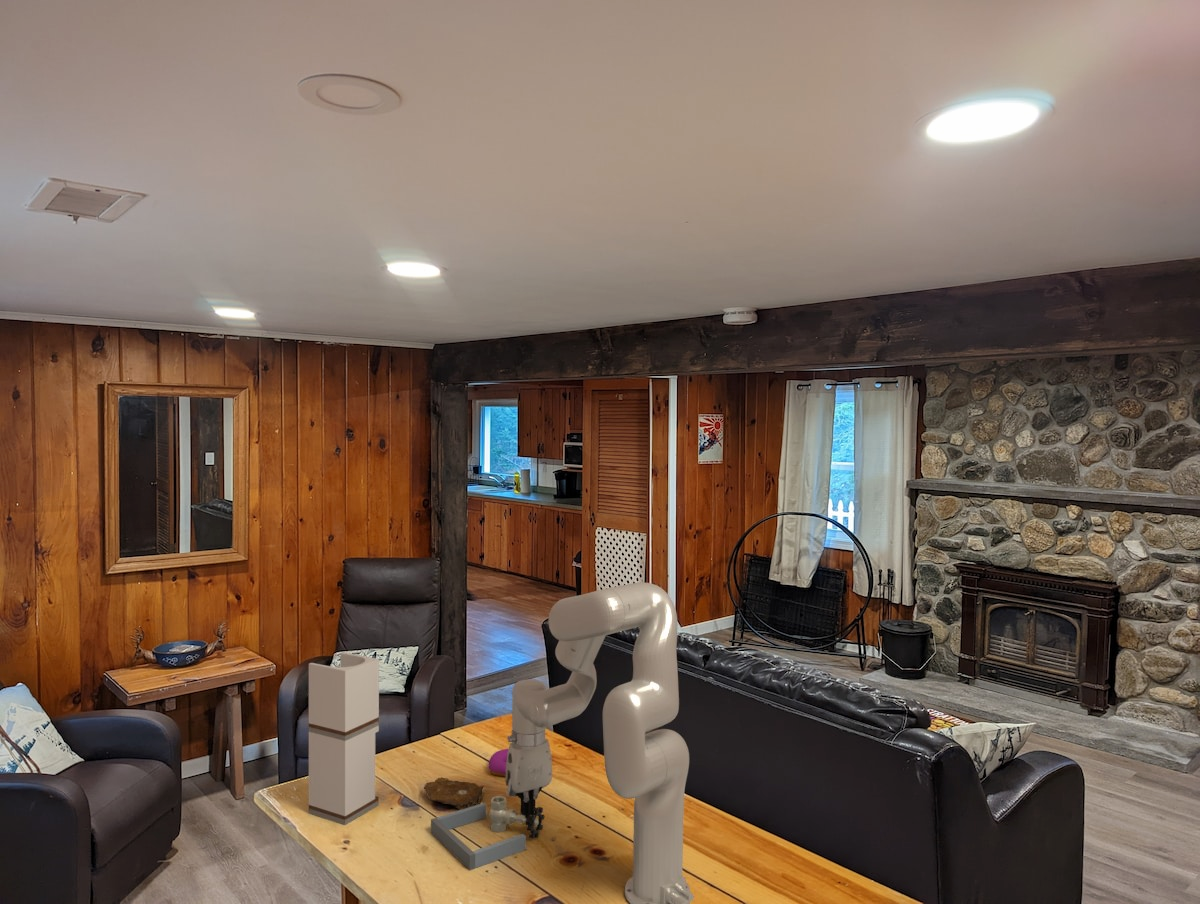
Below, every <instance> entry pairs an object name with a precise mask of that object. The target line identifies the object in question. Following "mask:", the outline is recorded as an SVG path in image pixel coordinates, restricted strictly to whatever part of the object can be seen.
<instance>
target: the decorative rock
mask: <svg viewBox="0 0 1200 904" xmlns="http://www.w3.org/2000/svg"><path fill="white" fill-rule="evenodd" d="M484 788H485V787H484V785H478V784H477V783H476V782H475V783H474V782H468V781H467V782H466V781H459V780H450V779H449V778H447V777H437V778H436V779H435V780H434V781H430V782H427V783H426V784H424V787H423V789H424V791H425V792H426V795H427V798H428V799H429V801H433V802H440V803H441V804H445V805H452V806H454V807H455V808H456V809H457V810H458V811H459V810H462V809H465V808H469V807H472V806H475V805H478V804H480V798H481V797H482V796H483V794H484V792H483V789H484Z"/></svg>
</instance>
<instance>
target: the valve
mask: <svg viewBox="0 0 1200 904" xmlns="http://www.w3.org/2000/svg"><path fill="white" fill-rule="evenodd" d="M533 811H535V813H533V814H532V815H529V816H528V817H527V818H525V816H524V815H522V814H518V813H517V811H516V810H515V809H512V808H509V809H508V807H507V797H506V796H503V795H495V796H493V797H491V801H490V809H489V812H488V813H489V814H488V816H489V820H490V831H491V832H495V833H502V832H505V831H506V830H507V824H508V825H513V824H514V823H518V824H524V823H525V825H526V831H527V832H530V833H529V834H528V838H529V839H538V838H539V836H540V833H539V831H542V830H543V828H544V824H542V823H543V821H544V820H545V814H543V812H544V808H543V807H541V806H538V807H536V806H535V807H534V808H533ZM535 827H536V828H535Z"/></svg>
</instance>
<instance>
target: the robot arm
mask: <svg viewBox="0 0 1200 904" xmlns="http://www.w3.org/2000/svg"><path fill="white" fill-rule="evenodd" d="M548 628H549V631H550V633H551V635H552V636H553V637H554V638H555V639H556V640H558V643H557V645H556V647H555V649H554V650H555V651H554V653H555V657H556V660H557V661H558V663H559V664H560V665H562V666H563V667H564V668H565V669H567V670H569V671H570V672H571V674H570V676H569V678H568V680H567V681H566V683H564V684H559V685H557V686H553V687H549V688H547V689H546V685H545V683H544V682H542V681H541V680H538V679H531V678H528V679H522V680H519V681H516V682H515V684H513V686H512V698H511V699H512V700H511V701H512V704H511V705H512V706H511V708H512V709H511V711H512V712H511V715H512V716H511V720H512V721H511V734H510V735H508V736H507V738H506V739H507V742H508V743H509V744H508V745H509V746H508V748H507V749H508V755H507V762H506V776H505V784H506V786H507V788H506V793H505V794H506V796H508V797H509V798H510V797H511V798H513V797H517V798H519V799H520V815H524V816H525V818H527V817H528V816H529V815H532V814H533V813H535V811H533V808H534V807H536V800H537V799H538V798H539V794H540V792H541V791H542V789H544V788H546V787H547V786H549V785H550V784H551V782H552V781H553V763H552V762H553V761H552V753H551V748H550V742H549V739H548V738H546V728H549V727H550V726H554V725H558V724H559V723H561V722H564V721H568V720H571V719H574V718H576V717H578V716H580V715H581V714H582V713H583V712H584V711H585V710H586V709H587V707H588V705H589V704H590V701H591V700H592V698H593V696H594V693H595V691H596V689H597V682H598V681H597V670H596V668H595V664H594V662H595V659H596V657H597V656H598V653H599V651H600V650H601V649H600V648H601V647H602V645H603V643H604V640H605V638H606V636H608V635H612V634H613V635H614V634H615V633H620V632H623V631H627V630H631V629H635V628H638V629H639V633H638V635H637V636H636V637H637V638H636V640H635V642H634V646H633V651H632V667H633V671H632V679H631V681H628V682H625V683H623V684H619V685H618V686H616V687H614V688H613V689H611V690H610V691H609V693H608V694H607V696H606V697H605V700H604V704H603V708H602V730H603V731H602V733H603V735H602V736H603V756H604V769H605V775H606V778H607V782H608V784H609V786H610V788H611V789H612V791H613V792H614V793H615V794H616V795H617V796H619V797H620V798H622V799H626V800H628V799H629V800H630V799H631V800H632V799H634V801H633V805H634V806H633V835H632V836H633V839H632V840H633V841H632V842H633V844H632V845H633V846H632V847H633V851H632V855H633V857H632V877H630V878H629V879H628V880H627V881H626V883H625V886H624V896H625V899H626V900H627V901H628V903H630V904H690V902H692V901H694V899H695V895H694V894H693V893H692V892H691V888H690V886H689V884H688V883H687V879H686V877H684V876H683V868H684V867H683V862H684V861H683V858H684V857H683V852H684V851H683V849H684V848H683V847H684V811H685V810H684V807H685V806H684V804H685V789H686V783H687V778H688V774H689V768H690V752H689V748H688V746H687V743H686V741H685V739H684V738H683V737H682V736H681V735H680V734H679V732H676V731H675V730H672V729H667V728H661V727H663V726H664V725H667V724H669V723H671V722H672V721H673V720H674V719H676V717H677V716H678V713H679V710H680V709H679V708H680V707H679V706H680V697H679V695H680V694H679V675H678V673H679V672H678V658H677V643H678V642H677V641H678V640H677V639H678V614H677V610H676V607H675V604H674V602H673V600H672V598H671V597H670V595H669V594H668V593H667V592H666V591H665V590H664V589H663V588H662V587H660V586H659V585H657V584H654V583H650V582H635V583H627V584H623V585H620V586H618V585H617V586H614V587H609V588H604V589H598V590H595V591H591V592H588V593H584V594H579V595H575V596H570V597H565V598H562V599H559V600H558V601H556V602H555V603H554V605H553V606H552V607H551V610H550V611H549V614H548ZM658 728H661V729H658Z"/></svg>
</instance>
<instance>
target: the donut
mask: <svg viewBox="0 0 1200 904" xmlns="http://www.w3.org/2000/svg"><path fill="white" fill-rule="evenodd" d="M508 749H509V748H505V749H499V750H498V751H495V752H494V753H493V754H492V755H491V757H490V758H489V760H488V766H487V767H488V769H489V770H490V773H491V774H492V775H493V776H497V777H498V776H499V777H506V762H507V755H508Z"/></svg>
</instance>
